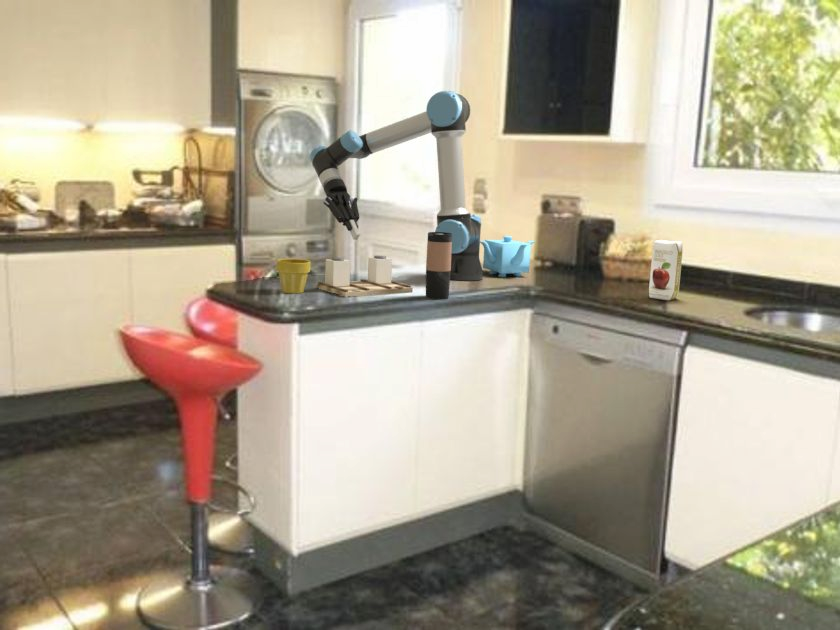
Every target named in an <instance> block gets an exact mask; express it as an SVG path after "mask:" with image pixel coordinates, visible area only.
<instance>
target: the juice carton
mask: <svg viewBox="0 0 840 630" xmlns="http://www.w3.org/2000/svg"><path fill="white" fill-rule="evenodd" d="M683 249H684V247H683V242H682V241H670V240H666V239H665V240H664V239H659V240H658V239H657V240H655V241H654V244H653V247H652V253H651V254H652V255H651V263H650V264H651V265H650V275H649V276H650V277H649V287H648V294H649V298H651V299H657V300H663V301H672V300H676V299H677V297H678V295H679V291H680V282H681V271H682V264H683V263H682V261H683V252H684V250H683Z"/></svg>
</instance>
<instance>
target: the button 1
mask: <svg viewBox="0 0 840 630" xmlns="http://www.w3.org/2000/svg"><path fill="white" fill-rule="evenodd" d="M324 271H325V277H324V280H325V281H324V283H326V284H329V285H332V286H336V287H339V286H350V282H351V276H350V275H351V260H349V259H345V257H337V256H336V257H331V258H329V259H325V270H324Z"/></svg>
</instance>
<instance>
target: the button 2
mask: <svg viewBox="0 0 840 630" xmlns="http://www.w3.org/2000/svg"><path fill="white" fill-rule="evenodd" d="M367 259H368V261H367V280H368V281H371V282H375V283H379V284H383V283H391V281H392V275H393V273H392V272H393V271H392V270H393V269H392V268H393V258H390V257H387V256H386V255H373V257H368V258H367Z"/></svg>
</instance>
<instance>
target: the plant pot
mask: <svg viewBox="0 0 840 630" xmlns="http://www.w3.org/2000/svg"><path fill="white" fill-rule="evenodd" d="M276 271H277V272H278V276H279V281H280V286H281V292H283V293H285V294H303V293H304V292H305V288H306V283H307V279H308V275H309V273H310V272H311V260H309V259H302V258H279V259H277V260H276Z"/></svg>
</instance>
